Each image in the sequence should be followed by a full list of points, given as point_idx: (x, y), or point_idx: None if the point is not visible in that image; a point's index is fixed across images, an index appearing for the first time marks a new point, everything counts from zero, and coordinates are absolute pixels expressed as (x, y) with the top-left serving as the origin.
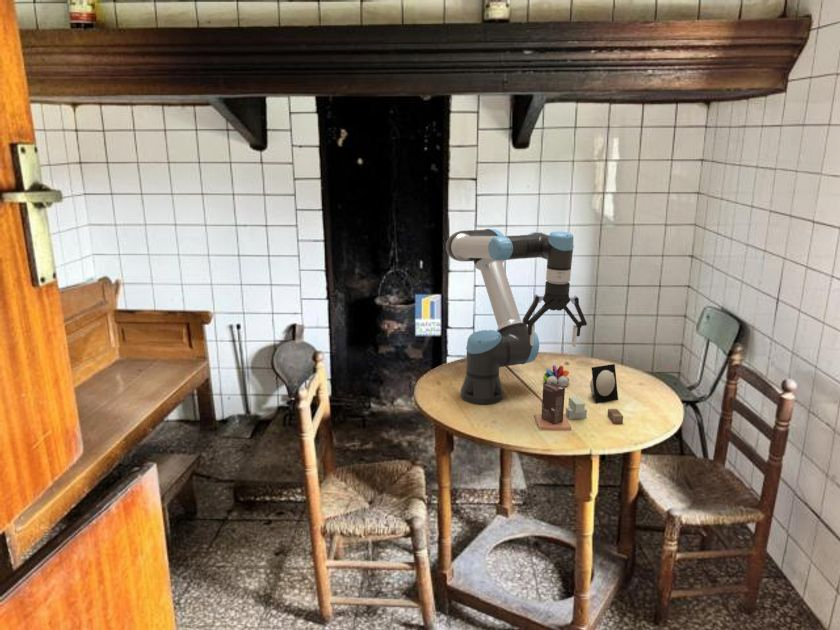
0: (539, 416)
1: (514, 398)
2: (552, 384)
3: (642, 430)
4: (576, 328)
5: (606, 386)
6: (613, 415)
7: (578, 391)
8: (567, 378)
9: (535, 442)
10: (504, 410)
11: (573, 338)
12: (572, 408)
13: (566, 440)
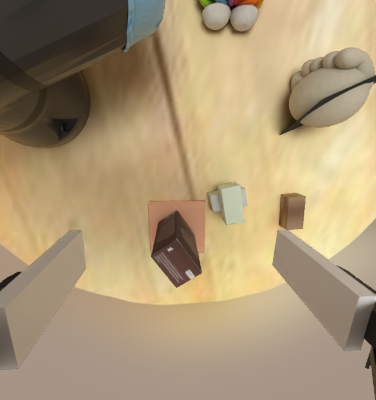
0: (156, 213)
1: (116, 108)
2: (174, 256)
3: (315, 244)
4: (349, 344)
5: (324, 126)
6: (287, 226)
7: (267, 61)
8: (257, 12)
9: (139, 292)
10: (92, 174)
11: (294, 277)
12: (220, 205)
13: (188, 283)
